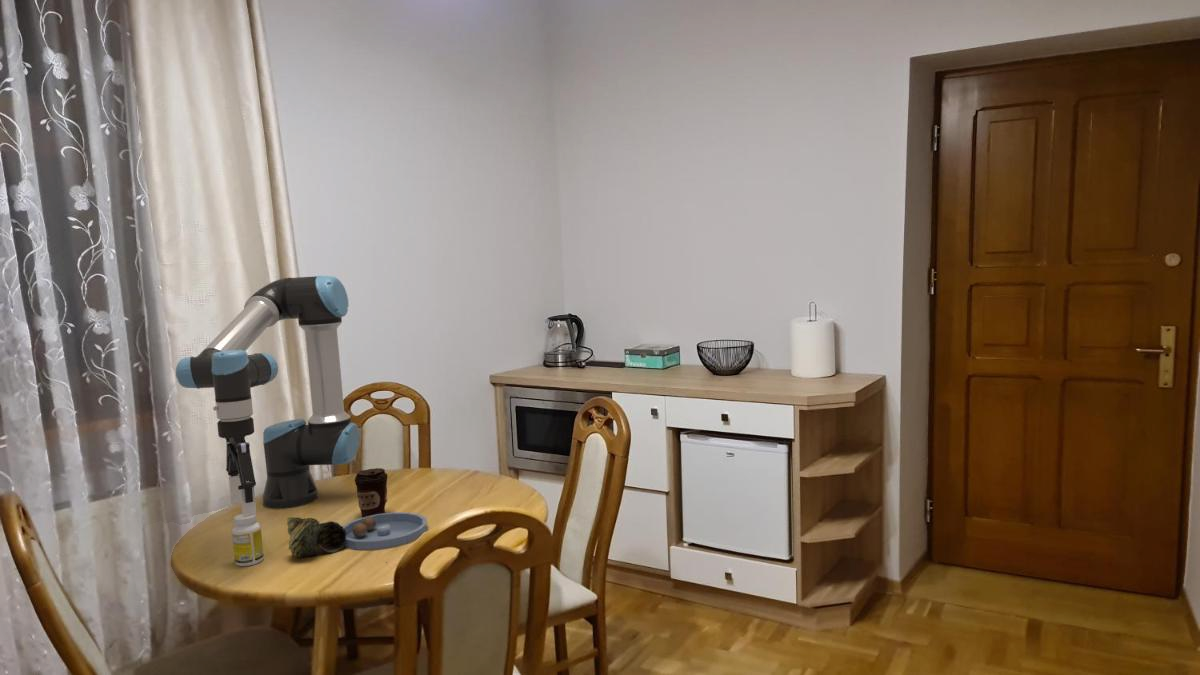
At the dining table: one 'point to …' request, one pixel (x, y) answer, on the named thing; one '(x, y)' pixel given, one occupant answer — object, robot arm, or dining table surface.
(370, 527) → the walnut bead
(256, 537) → the pill bottle
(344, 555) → the dining table surface
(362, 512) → the coffee cup
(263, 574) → the dining table surface
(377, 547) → the ring tray
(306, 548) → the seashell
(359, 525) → the walnut bead
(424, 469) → the dining table surface
